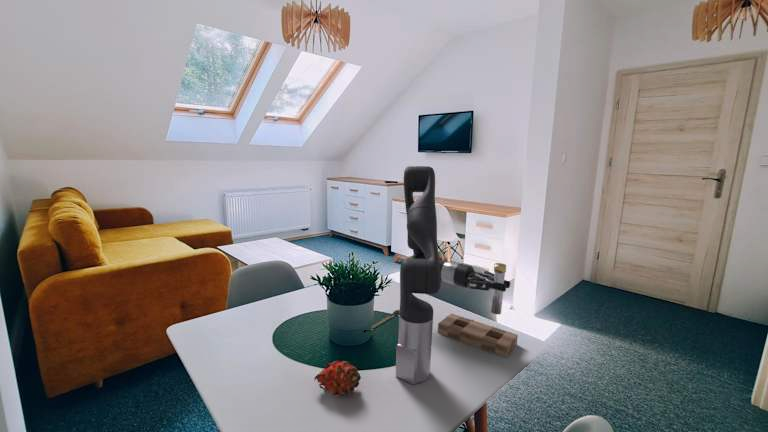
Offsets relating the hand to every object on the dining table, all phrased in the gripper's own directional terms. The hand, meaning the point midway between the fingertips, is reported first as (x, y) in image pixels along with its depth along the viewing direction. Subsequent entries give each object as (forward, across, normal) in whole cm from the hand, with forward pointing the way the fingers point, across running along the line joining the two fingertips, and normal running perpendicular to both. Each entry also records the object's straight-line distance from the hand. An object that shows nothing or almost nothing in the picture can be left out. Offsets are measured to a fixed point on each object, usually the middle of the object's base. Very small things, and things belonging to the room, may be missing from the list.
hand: (507, 286), depth 110 cm
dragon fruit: (-26, -49, +21) cm, 59 cm away
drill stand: (-9, 0, +21) cm, 23 cm away
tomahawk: (-39, -11, +22) cm, 46 cm away
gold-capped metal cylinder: (-3, 0, +10) cm, 10 cm away
